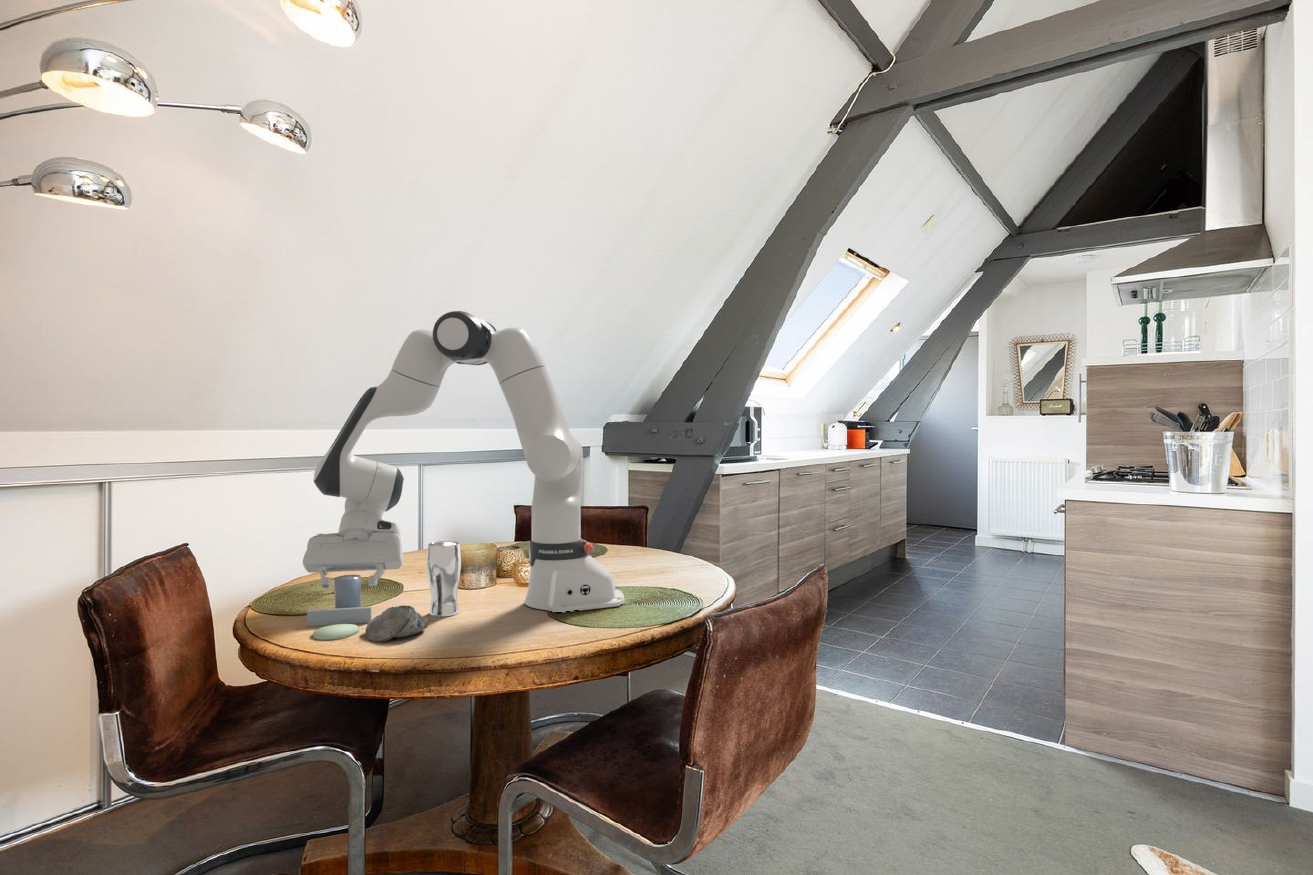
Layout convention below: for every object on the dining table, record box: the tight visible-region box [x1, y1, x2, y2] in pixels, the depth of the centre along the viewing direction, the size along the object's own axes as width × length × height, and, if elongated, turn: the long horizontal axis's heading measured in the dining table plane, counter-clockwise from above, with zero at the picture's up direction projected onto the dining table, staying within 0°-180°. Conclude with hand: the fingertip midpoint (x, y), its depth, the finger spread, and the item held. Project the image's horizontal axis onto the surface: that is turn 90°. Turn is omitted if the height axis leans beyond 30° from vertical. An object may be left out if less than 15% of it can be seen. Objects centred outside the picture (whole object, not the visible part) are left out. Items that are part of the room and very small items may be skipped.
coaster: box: [312, 624, 360, 641], centre depth 128 cm, size 8×8×1 cm
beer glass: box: [426, 540, 462, 618], centre depth 141 cm, size 7×7×15 cm
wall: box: [306, 606, 373, 627], centre depth 134 cm, size 12×1×3 cm, turn 101°
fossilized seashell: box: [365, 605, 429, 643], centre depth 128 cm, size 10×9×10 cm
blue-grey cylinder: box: [334, 574, 362, 609], centre depth 140 cm, size 5×5×8 cm
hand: (348, 585), depth 142 cm, fingers open, 8 cm apart
